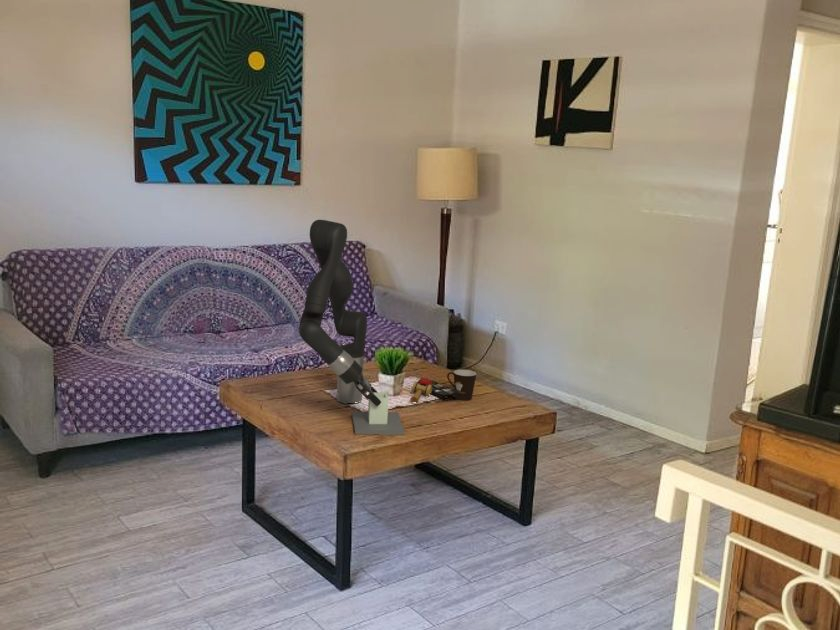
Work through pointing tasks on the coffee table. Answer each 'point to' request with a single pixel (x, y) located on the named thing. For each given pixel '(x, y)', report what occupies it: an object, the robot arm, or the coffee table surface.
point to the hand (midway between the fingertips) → (378, 400)
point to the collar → (378, 410)
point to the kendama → (421, 389)
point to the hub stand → (364, 427)
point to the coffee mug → (463, 384)
